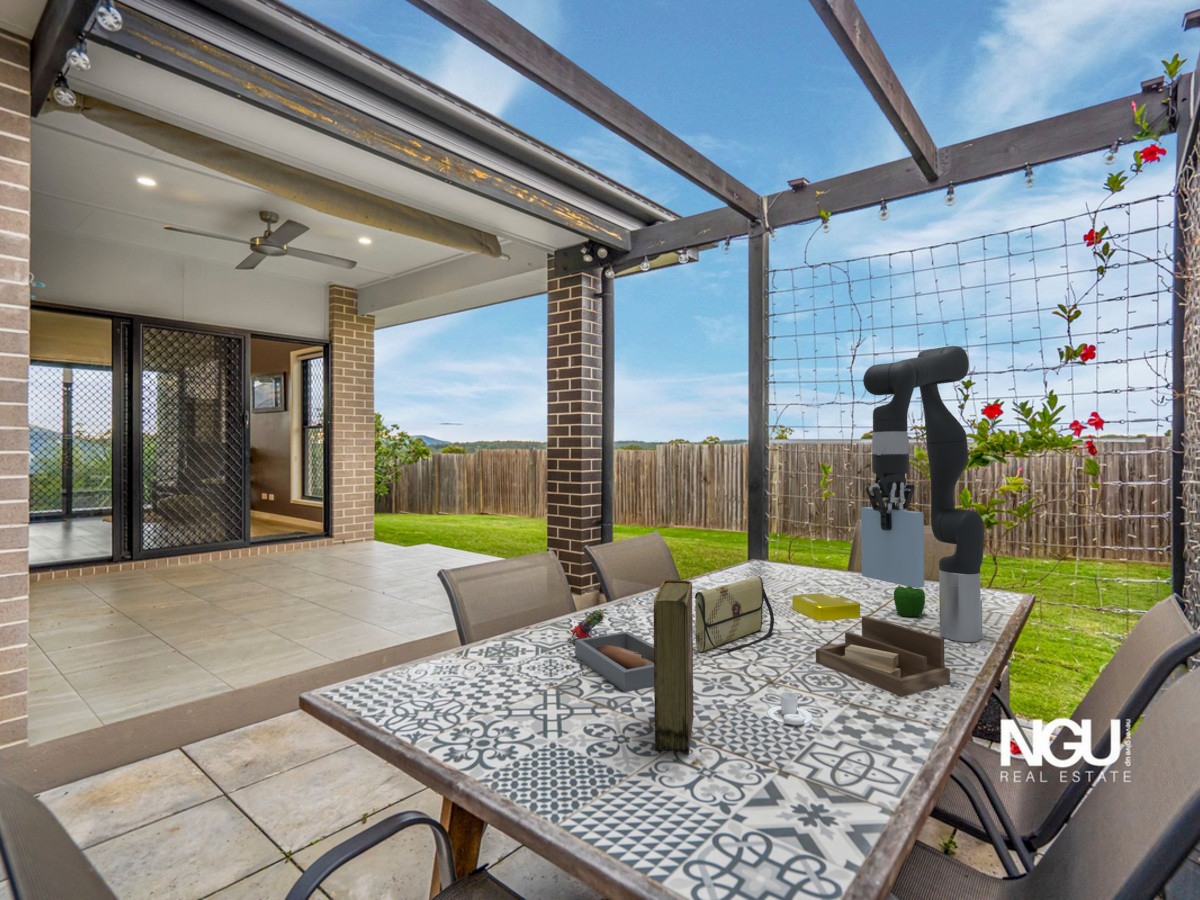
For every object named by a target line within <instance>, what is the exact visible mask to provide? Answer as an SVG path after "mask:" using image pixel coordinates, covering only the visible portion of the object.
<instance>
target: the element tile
mask: <svg viewBox="0 0 1200 900" xmlns="http://www.w3.org/2000/svg"><path fill="white" fill-rule="evenodd" d="M791 602H792V604H791V606H792V610H793V611H795V612H797V613H799V614H802V615H803V616H806V617H808V618H810V619H812V620H815V621H819V622H822V621H823V622H826V621H836V620H849V619H859V618H860V617H861V602H859V601H856V600H853V599H851V598H848V597H845V596H844V595H843V596H842V595H840V594H838V593H834V592H819V593H806V594H805V593H804V594H794V595H793V596H792V598H791Z"/></svg>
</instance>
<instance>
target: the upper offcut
mask: <svg viewBox="0 0 1200 900" xmlns="http://www.w3.org/2000/svg"><path fill="white" fill-rule="evenodd" d="M845 658H847V659H850V660H852V661H855V662H858V663H862V664H867V665H872V666H876V667H881V668H885V669H890V670H894V669H895V668H896V667H897V666H898V654H895V653H890V652H885V651H880V650H876V649H871V648H866V647H861V646H856V645H849V646H848V647H846V648H845Z"/></svg>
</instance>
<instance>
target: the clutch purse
mask: <svg viewBox="0 0 1200 900" xmlns="http://www.w3.org/2000/svg"><path fill="white" fill-rule="evenodd" d="M694 599H695V600H694V604H695V605H694V606H695V607H694V608H695V610H694V611H695V644H696V648H697V651H698V652H699V653H704V652H705V651H708V650H710V649H713V648H715V649H716V650H717V651H718V650H719V651H725V652H727V651H729V652H730V651H735V650H738V649H742V648H745V647H750V646H752V644H753V645H755V644H758V643H760V642H762V641H764V640H766V639H767V638H768V637H770V636H771V635H772V633H773V631H774V626H775V617H774V611H773V608H772V605H771V603H770V601H769V598H768V596H767V594H766V591H765V587H764V580H763V578H762V577H761V576H760V575H756V576H753V577H751V578H746V579H743V580H739V581H735V582H732V583H728V584H724V585H720V586H717V587H712V588H709V589H706V590H702V591H697V592H696V593H695V595H694ZM764 602H765V605H766V607H767V609H768V612H769V619H770V620H769V621H770V622H769V623H770V624H769V628H768V630H767V631H768V632H767V633H766V634H764V635H763V636H762V637H760V638H758V639H756V640H754V641H752V642H748V643H745V644H742V645H737V646H734V647H730V648H729V647H728V648H720V647H719V646H721V645H723V644H724V645H725V644H726V643H729V642H732V641H735V640H737V639H739V638H742V637H746V636H747V635H750V634H753V633H755V632H760V631H761V629H762V627H763V605H764ZM757 642H758V643H757Z"/></svg>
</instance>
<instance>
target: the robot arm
mask: <svg viewBox="0 0 1200 900" xmlns="http://www.w3.org/2000/svg"><path fill="white" fill-rule="evenodd" d="M969 364H970V362H969V356H968V354H967V351H966V350H965V349H964V348H963V347H961V346H957V345H951V346H950V345H949V346H943V347H942V346H941V347H935V348H929V349H924V350H921V351H920V352H919V353H918V354H917V356H916V357H912V358H911V357H910V358H907V359H902V360H899V361H896V362H888V363H879V364H873V365H871V366H869V367H868V368H867V369H866V370H865V372H864V375H863V379H862V382H863V387H864V388H865V390H866V391H867V392H868V393H869V394H871V395H873V396H887V395H888V396H889V395H893V396H892V399H891V401H890V402H888V403H886V404H882V405H880V406H877V407H875V408H874V409H873V411H872V439H871V473H872V474H875V479H874V484H873V485H870V486H869V485H867V486H866V488H865V492H866V494H867V496H868V499H869V501H870V505H871V507H872V508H873V510H875V511H879V513H880V517H881V529H882V530H887V531H889V530H891V529H892V514H890V513H891V509H894V510H905V511H906V510H908V509H909V508H910V505H911V502H912V498H913V494H914V491H915V488H916V487H915V484H909V483H908V482H907V479H906V474H908V473H909V472H910V441H909V435H908V434H909V433H908V430H909V429H908V414H909V408H910V403H911V399H912V397H913V393H914V390H915V389H916V388H919V392H920V396H921V402H922V407H923V416H924V417H923V418H924V426H925V441H926V452H927V459H928V465H929V466H928V468H929V478H930V526H931V530H932V534H933V536H934V538H935V539H936V540H937V541H938V542H941V543H943V544H944V543H946V544H952V545H956V547H955V548H956V549H955V553H954V554H952V555H949V556H944V557H941V558H940V559H939V562H938V565H939V567H938V570H939V571H938V572H939V574H938V578H939V581H938V582H939V583H938V584H939V586H938V588H939V593H938V595H939V635H940V636H941V638H944V639H947V640H950V641H956V642H962V643H976V642H980V641H981V640H982V639H981V638H983V601H982V599H981V568H982V567H981V566H982V564H983V563H982V562H983V559H984V542H985V524H984V520H983V517H982V515H981V514H980V513H979V512H978V511H975V510H971V509H963V508H961V509H960V508H956V507H955V500H954V499H955V497H954V495H955V488H956V484H957V483H958V481H959V479H960V477H961V476H962V474H963V472H964V470H965V468H966V466H967V464H968V460H969V446H968V437H967V431H966V430H965V428H964V427H963V425H962V424H961V423H960V422H959V420H958V419H957V418H956V417H955V416H954V414H953V413H951V411H950V409H948V408H947V406H946V405H945V403H944V402H943V400H942V398H941V397H942V396H941V393H940V392H939V388H938V387H939V386H938V385H943V384H949V383H956V382H959V381H961V380H964V379H965V378H966V376H967V375H968V373H969V370H970V368H969V367H970V365H969Z"/></svg>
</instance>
